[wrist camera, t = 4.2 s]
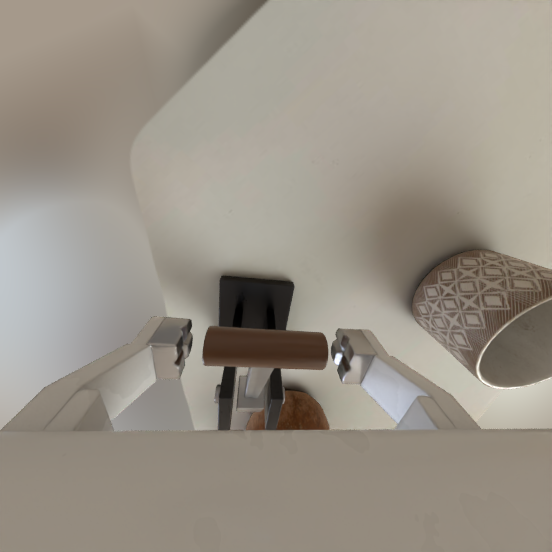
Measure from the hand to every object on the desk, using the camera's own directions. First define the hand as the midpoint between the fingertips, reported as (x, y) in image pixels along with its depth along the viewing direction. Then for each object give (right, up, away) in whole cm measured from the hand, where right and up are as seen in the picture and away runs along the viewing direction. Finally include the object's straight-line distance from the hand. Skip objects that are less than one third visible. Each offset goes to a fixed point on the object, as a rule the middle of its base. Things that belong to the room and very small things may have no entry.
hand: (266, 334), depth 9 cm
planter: (+25, +1, +19) cm, 31 cm away
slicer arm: (-1, -3, +5) cm, 6 cm away
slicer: (-3, -3, +18) cm, 19 cm away
